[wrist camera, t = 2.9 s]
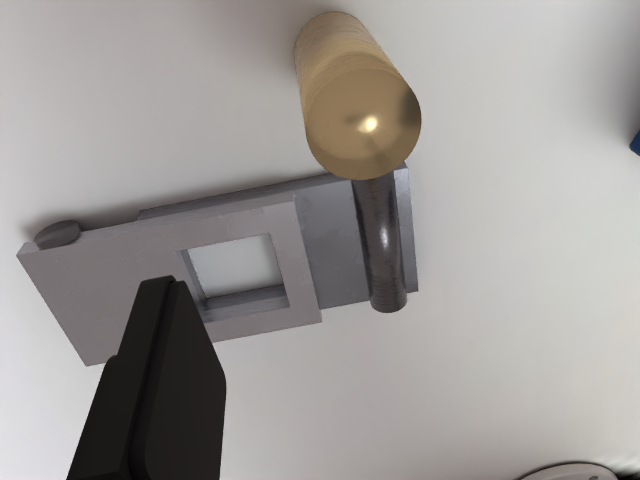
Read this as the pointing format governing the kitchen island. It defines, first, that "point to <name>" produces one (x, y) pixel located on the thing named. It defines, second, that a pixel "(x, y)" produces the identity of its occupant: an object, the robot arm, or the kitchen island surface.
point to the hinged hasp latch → (226, 225)
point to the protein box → (636, 144)
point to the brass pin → (353, 99)
